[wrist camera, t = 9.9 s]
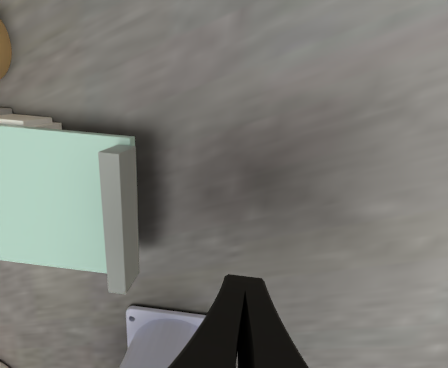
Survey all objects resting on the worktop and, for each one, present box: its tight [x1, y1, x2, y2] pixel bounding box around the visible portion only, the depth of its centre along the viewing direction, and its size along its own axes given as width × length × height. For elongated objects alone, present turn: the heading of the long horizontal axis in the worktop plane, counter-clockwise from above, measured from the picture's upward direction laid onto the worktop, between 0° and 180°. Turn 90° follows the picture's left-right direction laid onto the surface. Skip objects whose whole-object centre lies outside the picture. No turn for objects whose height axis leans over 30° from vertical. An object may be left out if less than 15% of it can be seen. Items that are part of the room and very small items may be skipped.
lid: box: [0, 124, 139, 294], centre depth 15 cm, size 9×10×3 cm
